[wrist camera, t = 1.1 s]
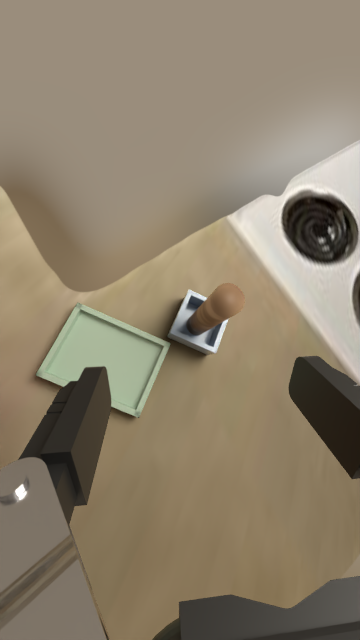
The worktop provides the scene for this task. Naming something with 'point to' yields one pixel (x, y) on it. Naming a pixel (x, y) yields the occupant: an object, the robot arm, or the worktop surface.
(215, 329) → the pale blue open box
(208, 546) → the worktop surface
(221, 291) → the dowel
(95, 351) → the tray
